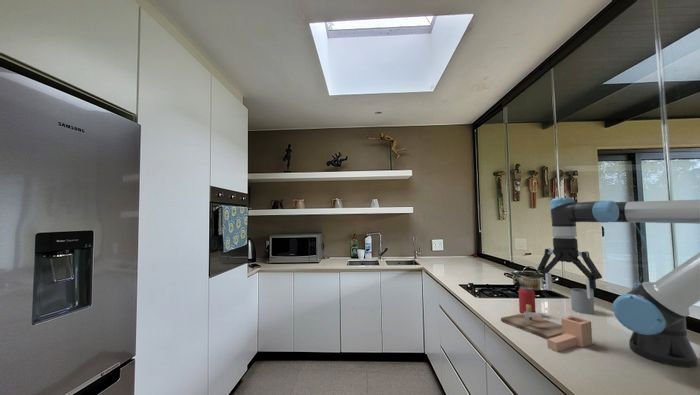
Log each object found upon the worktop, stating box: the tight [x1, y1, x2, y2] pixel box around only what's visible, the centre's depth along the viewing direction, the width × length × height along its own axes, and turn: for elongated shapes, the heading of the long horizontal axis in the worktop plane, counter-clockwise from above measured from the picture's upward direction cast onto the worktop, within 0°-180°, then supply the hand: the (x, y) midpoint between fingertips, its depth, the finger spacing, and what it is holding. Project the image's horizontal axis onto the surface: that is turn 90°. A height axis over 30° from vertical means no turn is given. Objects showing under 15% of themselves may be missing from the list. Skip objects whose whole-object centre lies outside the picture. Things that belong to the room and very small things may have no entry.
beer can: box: [518, 285, 537, 314], centre depth 132 cm, size 7×7×12 cm
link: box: [546, 315, 593, 353], centre depth 99 cm, size 18×6×8 cm, turn 114°
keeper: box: [524, 311, 543, 326], centre depth 112 cm, size 3×5×7 cm, turn 68°
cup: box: [570, 287, 595, 315], centre depth 135 cm, size 8×8×10 cm
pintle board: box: [500, 304, 562, 340], centre depth 115 cm, size 20×16×8 cm
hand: (568, 293), depth 105 cm, fingers open, 13 cm apart
